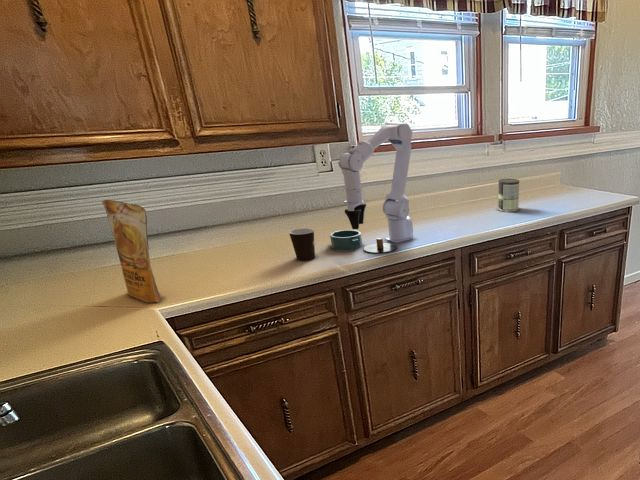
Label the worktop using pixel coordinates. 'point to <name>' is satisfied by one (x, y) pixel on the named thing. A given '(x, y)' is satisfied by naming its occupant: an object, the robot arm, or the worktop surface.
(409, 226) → the robot arm
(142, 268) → the pancake mix bag
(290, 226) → the worktop surface
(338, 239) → the pot
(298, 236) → the coffee mug
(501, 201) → the coffee can
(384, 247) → the lid
